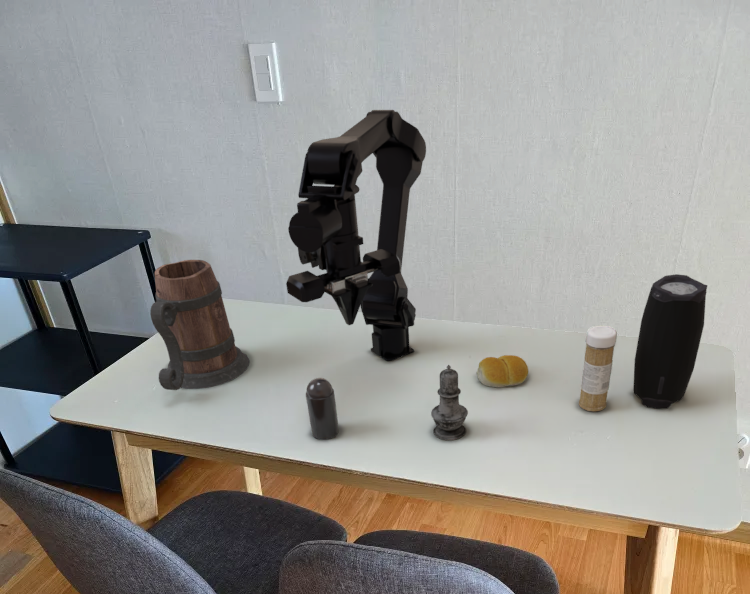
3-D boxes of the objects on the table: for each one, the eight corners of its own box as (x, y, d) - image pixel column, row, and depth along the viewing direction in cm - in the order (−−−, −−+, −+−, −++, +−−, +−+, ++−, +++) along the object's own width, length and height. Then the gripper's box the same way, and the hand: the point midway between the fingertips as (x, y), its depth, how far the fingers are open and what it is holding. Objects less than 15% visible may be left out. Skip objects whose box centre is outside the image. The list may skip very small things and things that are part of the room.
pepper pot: (330, 421, 119) (323, 369, 113) (344, 433, 116) (337, 380, 110) (307, 431, 117) (298, 378, 111) (320, 442, 114) (312, 389, 108)
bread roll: (534, 384, 123) (535, 364, 121) (484, 391, 123) (485, 371, 120) (519, 363, 130) (520, 343, 127) (472, 370, 129) (472, 350, 127)
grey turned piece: (465, 442, 111) (466, 374, 103) (429, 440, 112) (426, 373, 105) (469, 422, 115) (469, 356, 108) (434, 420, 116) (432, 355, 109)
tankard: (188, 346, 147) (163, 251, 135) (262, 350, 143) (243, 252, 131) (131, 403, 130) (96, 300, 117) (213, 409, 125) (186, 302, 113)
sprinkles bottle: (594, 396, 119) (603, 321, 110) (612, 407, 115) (624, 331, 107) (572, 403, 117) (580, 329, 109) (590, 415, 114) (600, 339, 106)
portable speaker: (642, 379, 122) (662, 269, 110) (695, 395, 116) (723, 280, 104) (618, 400, 117) (637, 286, 105) (673, 417, 112) (699, 300, 100)
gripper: (363, 206, 118) (370, 295, 128) (264, 233, 111) (280, 324, 121) (400, 220, 110) (405, 314, 120) (296, 250, 103) (310, 346, 113)
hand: (349, 324), depth 119 cm, fingers closed
